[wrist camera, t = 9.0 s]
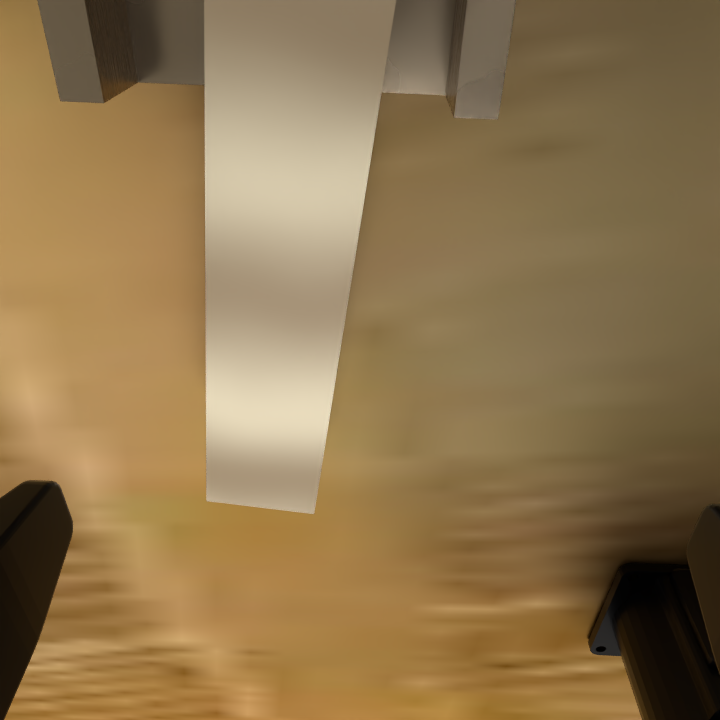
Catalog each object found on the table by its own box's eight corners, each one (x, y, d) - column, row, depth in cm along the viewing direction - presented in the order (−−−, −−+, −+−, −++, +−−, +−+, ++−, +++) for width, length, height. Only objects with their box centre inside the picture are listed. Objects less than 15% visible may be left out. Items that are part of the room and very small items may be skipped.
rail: (323, 429, 23) (314, 513, 20) (231, 416, 23) (206, 500, 20) (404, -87, 14) (408, -79, 11) (246, -116, 14) (203, -116, 10)
